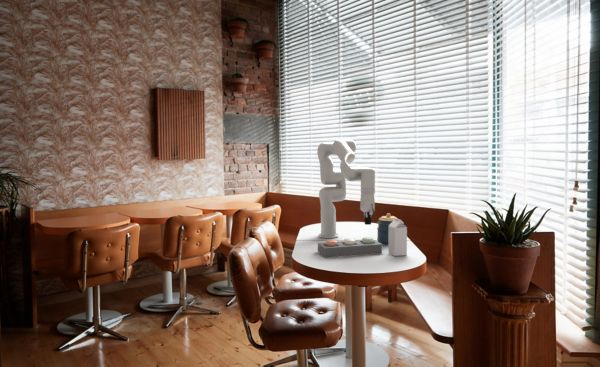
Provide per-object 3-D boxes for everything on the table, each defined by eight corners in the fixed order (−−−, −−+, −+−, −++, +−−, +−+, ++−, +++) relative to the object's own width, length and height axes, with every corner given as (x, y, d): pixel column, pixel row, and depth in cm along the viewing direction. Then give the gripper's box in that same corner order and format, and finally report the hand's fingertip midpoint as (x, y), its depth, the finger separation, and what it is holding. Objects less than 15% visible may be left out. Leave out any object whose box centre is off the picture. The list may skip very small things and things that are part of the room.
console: (317, 251, 231) (317, 242, 230) (372, 247, 238) (372, 238, 238) (324, 257, 218) (324, 248, 218) (382, 253, 226) (382, 244, 225)
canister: (399, 245, 243) (400, 215, 241) (376, 244, 245) (377, 214, 244) (399, 240, 255) (399, 211, 254) (377, 239, 258) (377, 211, 256)
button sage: (360, 242, 233) (360, 237, 232) (370, 241, 234) (370, 237, 234) (364, 245, 227) (364, 240, 227) (375, 244, 228) (375, 239, 228)
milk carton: (394, 256, 219) (394, 220, 217) (388, 253, 226) (388, 218, 224) (406, 255, 221) (407, 219, 219) (400, 252, 228) (400, 217, 226)
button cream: (342, 243, 230) (342, 238, 230) (352, 243, 232) (352, 238, 231) (346, 246, 224) (346, 241, 224) (356, 245, 226) (356, 240, 225)
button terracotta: (324, 245, 228) (323, 240, 227) (334, 244, 229) (334, 239, 229) (327, 247, 222) (327, 242, 222) (338, 246, 223) (338, 241, 223)
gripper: (356, 189, 234) (356, 222, 236) (366, 192, 220) (366, 227, 221) (368, 189, 236) (368, 221, 237) (380, 191, 221) (379, 226, 223)
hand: (367, 224), depth 229 cm, fingers closed
